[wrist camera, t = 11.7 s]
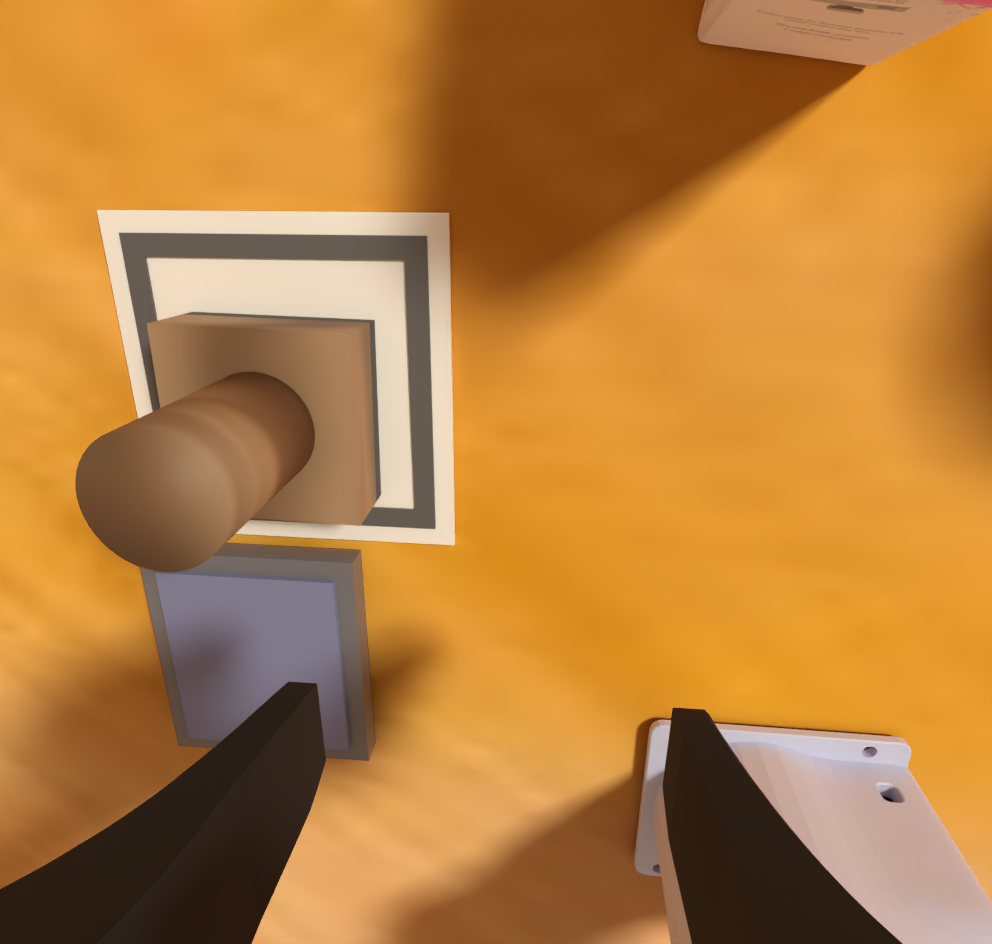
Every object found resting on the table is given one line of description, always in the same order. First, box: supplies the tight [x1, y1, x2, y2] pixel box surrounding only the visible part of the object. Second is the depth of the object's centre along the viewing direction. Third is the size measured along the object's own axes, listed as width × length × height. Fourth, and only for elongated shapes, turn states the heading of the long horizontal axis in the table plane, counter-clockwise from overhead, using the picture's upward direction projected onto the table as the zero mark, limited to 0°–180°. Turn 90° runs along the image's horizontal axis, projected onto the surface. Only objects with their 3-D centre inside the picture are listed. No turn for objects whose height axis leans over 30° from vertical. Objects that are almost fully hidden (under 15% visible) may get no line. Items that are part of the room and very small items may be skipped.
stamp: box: [76, 312, 381, 572], centre depth 18 cm, size 6×6×8 cm
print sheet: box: [97, 210, 455, 545], centre depth 22 cm, size 11×11×1 cm
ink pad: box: [140, 543, 375, 761], centre depth 25 cm, size 8×9×1 cm
